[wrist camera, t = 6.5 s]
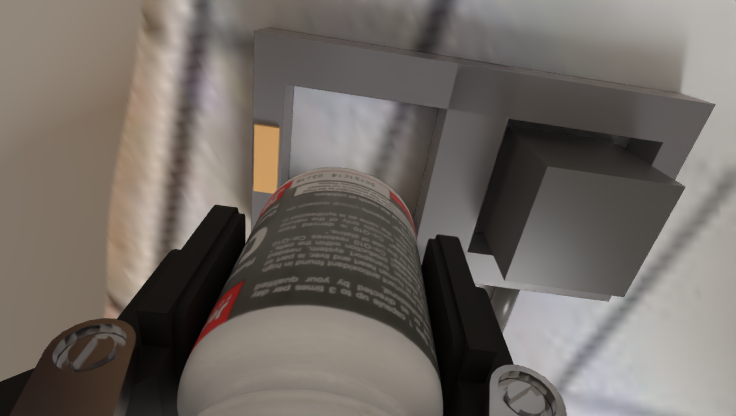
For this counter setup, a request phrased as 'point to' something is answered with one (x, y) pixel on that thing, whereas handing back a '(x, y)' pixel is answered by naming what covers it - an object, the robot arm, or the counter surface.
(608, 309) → the counter surface
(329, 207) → the pill bottle
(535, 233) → the two-compartment grey tray
